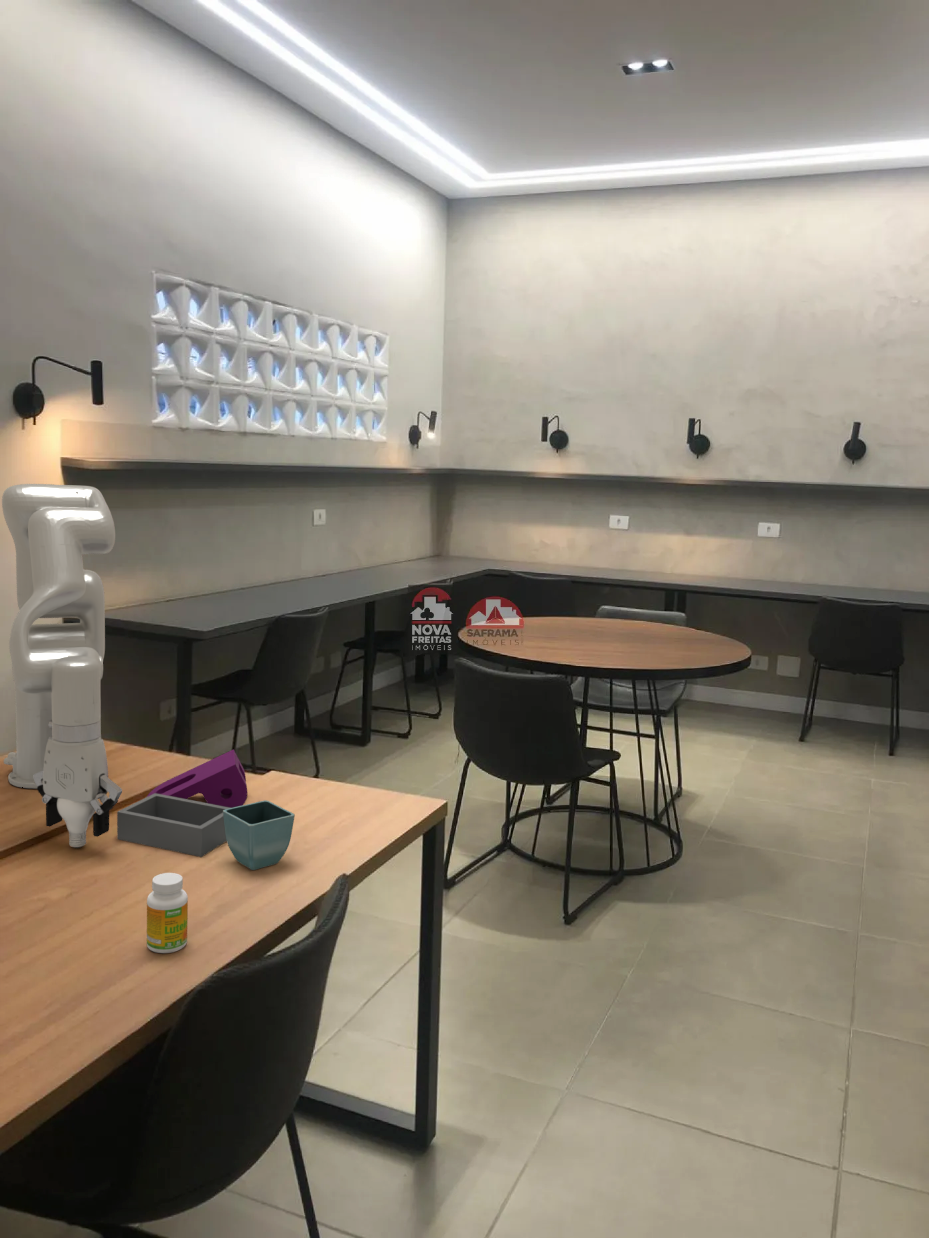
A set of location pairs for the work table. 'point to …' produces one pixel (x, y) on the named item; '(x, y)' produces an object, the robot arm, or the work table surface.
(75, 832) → the lightbulb
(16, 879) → the work table surface
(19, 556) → the robot arm
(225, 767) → the mounting bracket
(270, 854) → the flower pot
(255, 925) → the work table surface
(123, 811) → the open box
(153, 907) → the supplement bottle
